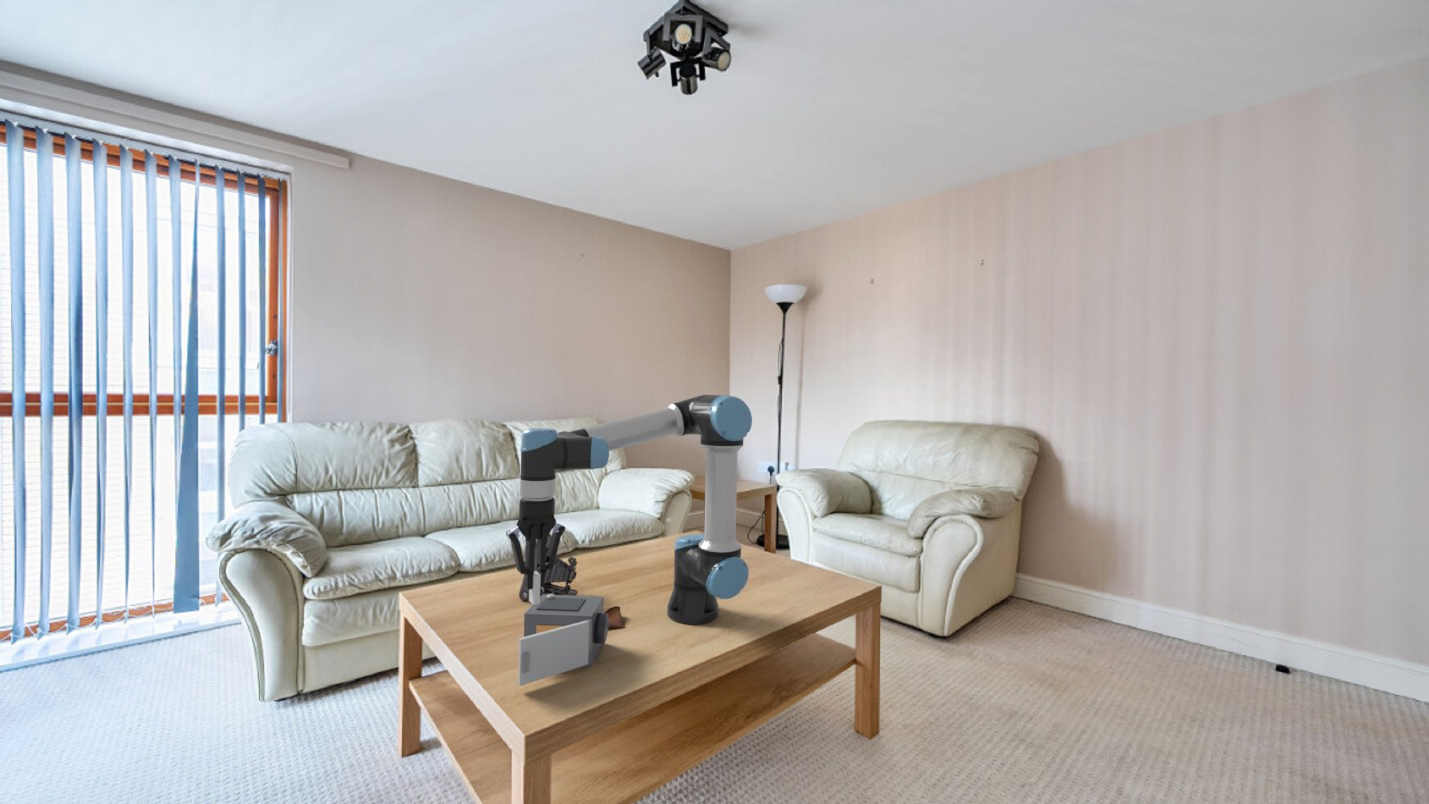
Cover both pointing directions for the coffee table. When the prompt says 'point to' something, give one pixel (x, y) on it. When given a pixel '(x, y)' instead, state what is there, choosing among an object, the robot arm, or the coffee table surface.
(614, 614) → the sunglasses case
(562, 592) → the camera
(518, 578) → the coffee table surface
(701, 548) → the robot arm
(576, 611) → the panel
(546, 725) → the coffee table surface
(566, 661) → the door
